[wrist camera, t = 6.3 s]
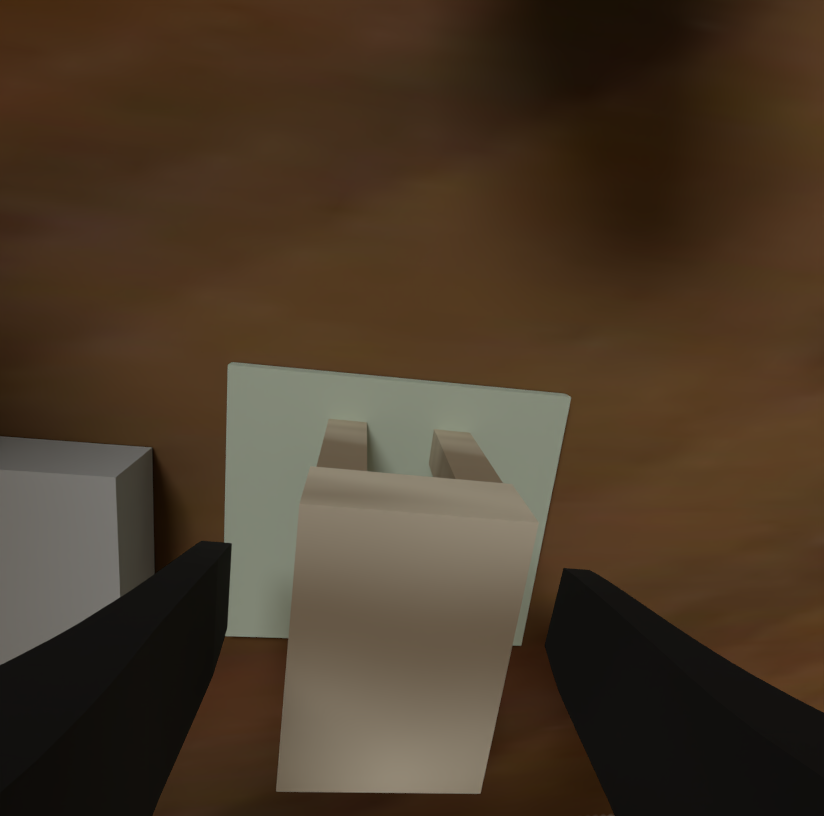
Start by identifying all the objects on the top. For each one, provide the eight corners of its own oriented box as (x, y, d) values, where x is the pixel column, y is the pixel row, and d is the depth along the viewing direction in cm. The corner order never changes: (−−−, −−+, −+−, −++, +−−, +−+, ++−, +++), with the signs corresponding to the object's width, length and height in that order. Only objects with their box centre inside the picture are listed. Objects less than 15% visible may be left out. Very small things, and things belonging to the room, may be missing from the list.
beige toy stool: (441, 618, 15) (480, 793, 10) (307, 611, 14) (276, 791, 9) (474, 429, 13) (538, 522, 8) (325, 414, 13) (299, 503, 8)
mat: (232, 362, 13) (227, 365, 12) (565, 393, 14) (571, 397, 13) (225, 626, 15) (222, 635, 14) (517, 636, 16) (521, 645, 15)
